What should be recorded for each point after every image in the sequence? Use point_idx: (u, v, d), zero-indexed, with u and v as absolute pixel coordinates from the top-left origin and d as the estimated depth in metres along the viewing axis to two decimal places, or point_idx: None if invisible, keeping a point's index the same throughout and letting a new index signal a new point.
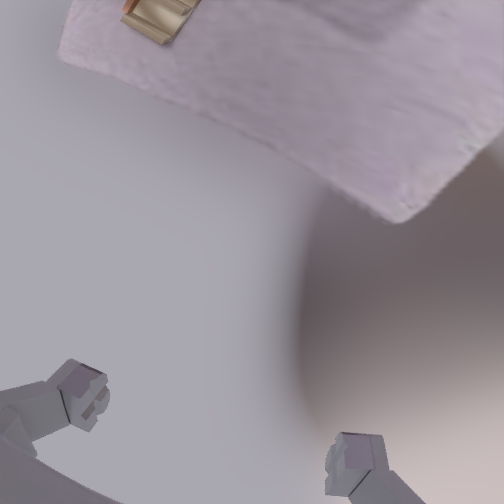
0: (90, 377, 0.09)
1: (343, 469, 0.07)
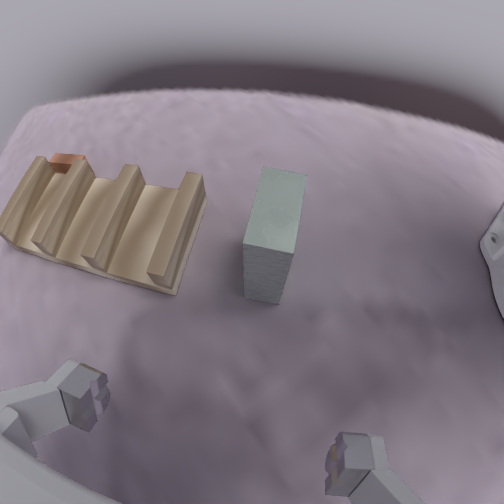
0: (90, 377, 0.09)
1: (343, 469, 0.07)
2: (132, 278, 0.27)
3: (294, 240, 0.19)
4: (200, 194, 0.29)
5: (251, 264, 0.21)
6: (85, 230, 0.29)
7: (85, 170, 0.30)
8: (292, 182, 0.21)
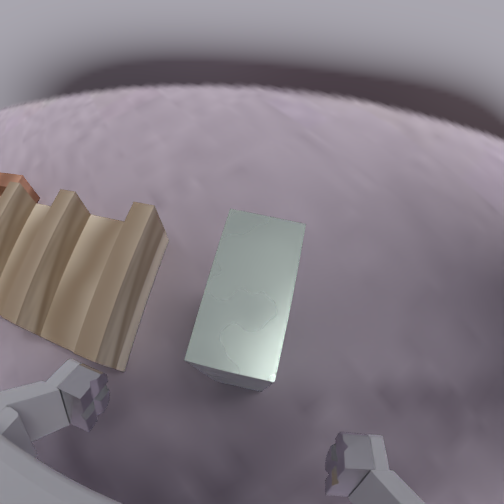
0: (90, 377, 0.09)
1: (343, 469, 0.07)
2: (68, 347, 0.18)
3: (277, 356, 0.10)
4: (154, 233, 0.20)
5: (209, 372, 0.12)
6: None
7: (20, 196, 0.21)
8: (280, 238, 0.12)
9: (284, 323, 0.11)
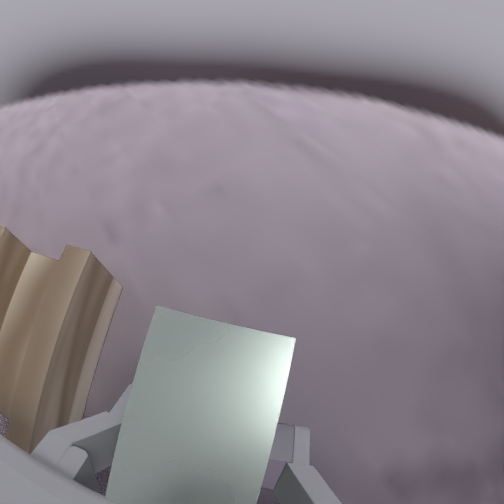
0: None
1: None
2: None
3: None
4: (95, 286, 0.14)
5: None
6: None
7: None
8: (244, 370, 0.06)
9: None
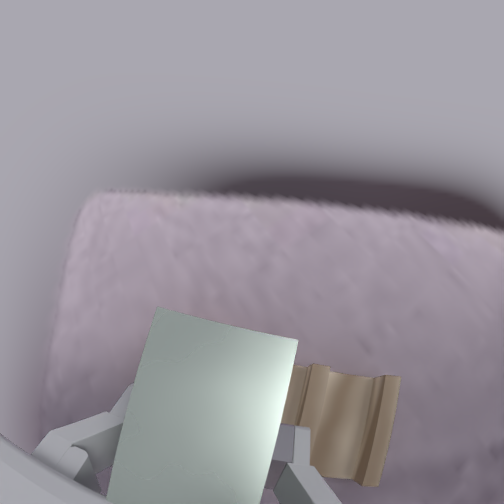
0: None
1: None
2: (328, 476, 0.23)
3: None
4: None
5: None
6: None
7: None
8: (246, 372, 0.06)
9: None
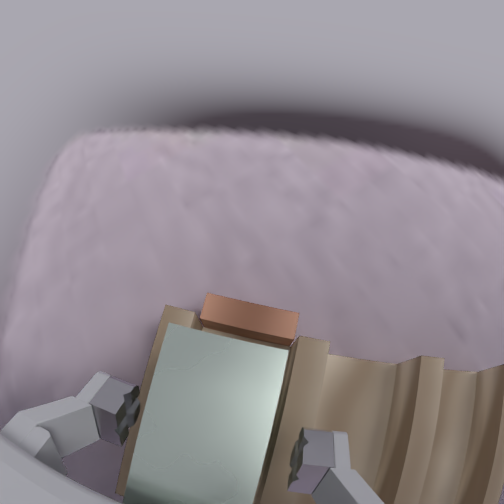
0: (123, 390, 0.09)
1: (301, 465, 0.07)
2: None
3: None
4: None
5: None
6: None
7: None
8: (245, 378, 0.07)
9: None
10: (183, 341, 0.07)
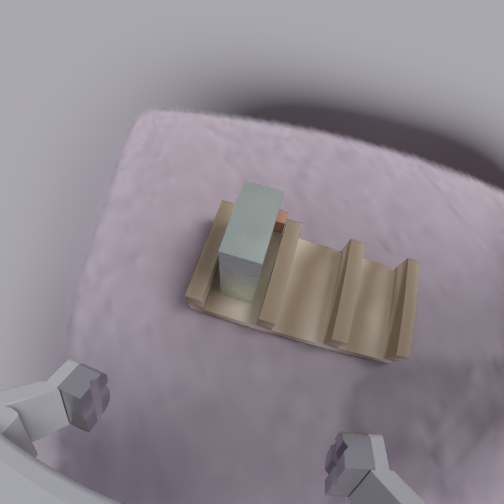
0: (90, 377, 0.09)
1: (343, 469, 0.07)
2: (361, 353, 0.29)
3: (264, 252, 0.21)
4: None
5: (226, 268, 0.24)
6: (302, 300, 0.31)
7: None
8: (269, 197, 0.23)
9: (269, 237, 0.22)
10: (249, 186, 0.23)
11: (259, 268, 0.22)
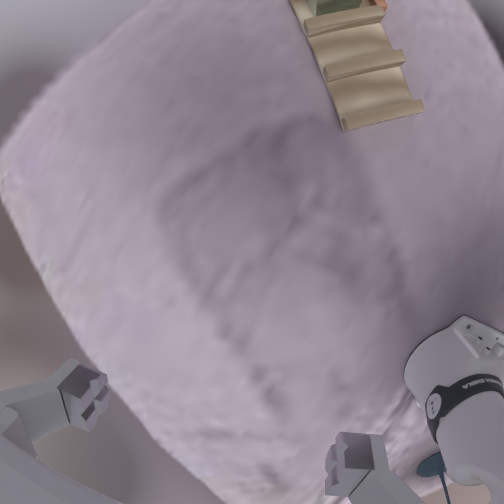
0: (90, 377, 0.09)
1: (343, 469, 0.07)
2: (335, 102, 0.35)
3: None
4: (412, 114, 0.33)
5: None
6: (341, 45, 0.32)
7: (378, 17, 0.29)
8: None
9: None
10: None
11: None
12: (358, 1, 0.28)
